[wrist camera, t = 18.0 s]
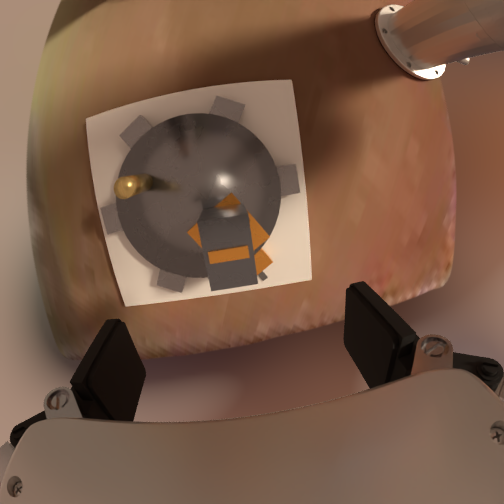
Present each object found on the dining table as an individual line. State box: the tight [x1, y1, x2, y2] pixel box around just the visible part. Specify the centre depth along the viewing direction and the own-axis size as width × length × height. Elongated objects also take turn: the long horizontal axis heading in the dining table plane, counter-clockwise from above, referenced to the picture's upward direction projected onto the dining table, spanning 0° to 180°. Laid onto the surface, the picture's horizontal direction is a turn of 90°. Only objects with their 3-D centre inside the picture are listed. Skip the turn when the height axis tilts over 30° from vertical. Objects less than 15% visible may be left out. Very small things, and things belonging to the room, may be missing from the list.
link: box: [197, 203, 258, 291], centre depth 24 cm, size 4×6×6 cm, turn 8°
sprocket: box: [100, 96, 300, 293], centre depth 24 cm, size 21×20×7 cm
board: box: [86, 80, 312, 306], centre depth 28 cm, size 23×23×1 cm
